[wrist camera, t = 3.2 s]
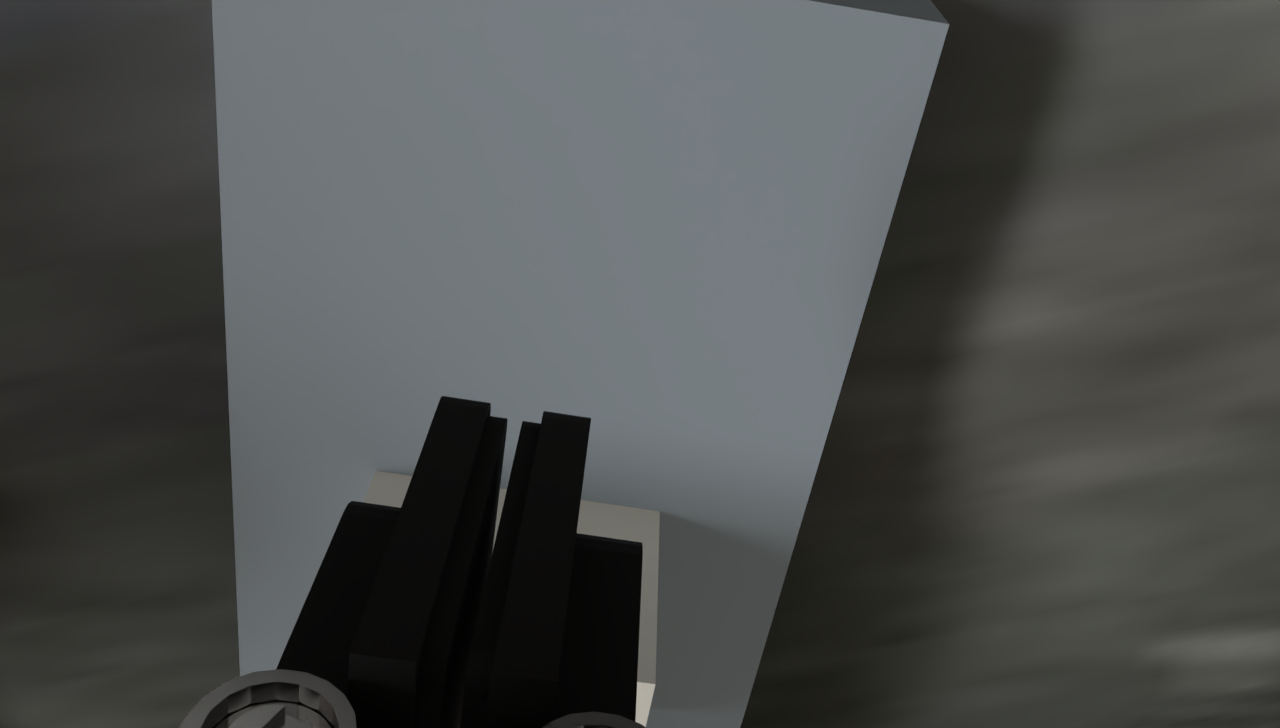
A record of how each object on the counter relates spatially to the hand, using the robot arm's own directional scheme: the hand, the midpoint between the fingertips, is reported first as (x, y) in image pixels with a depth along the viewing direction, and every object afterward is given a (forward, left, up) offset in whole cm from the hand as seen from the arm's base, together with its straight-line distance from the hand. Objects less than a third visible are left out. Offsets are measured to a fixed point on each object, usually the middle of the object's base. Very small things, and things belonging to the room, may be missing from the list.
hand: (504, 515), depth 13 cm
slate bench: (+5, 0, -8) cm, 10 cm away
